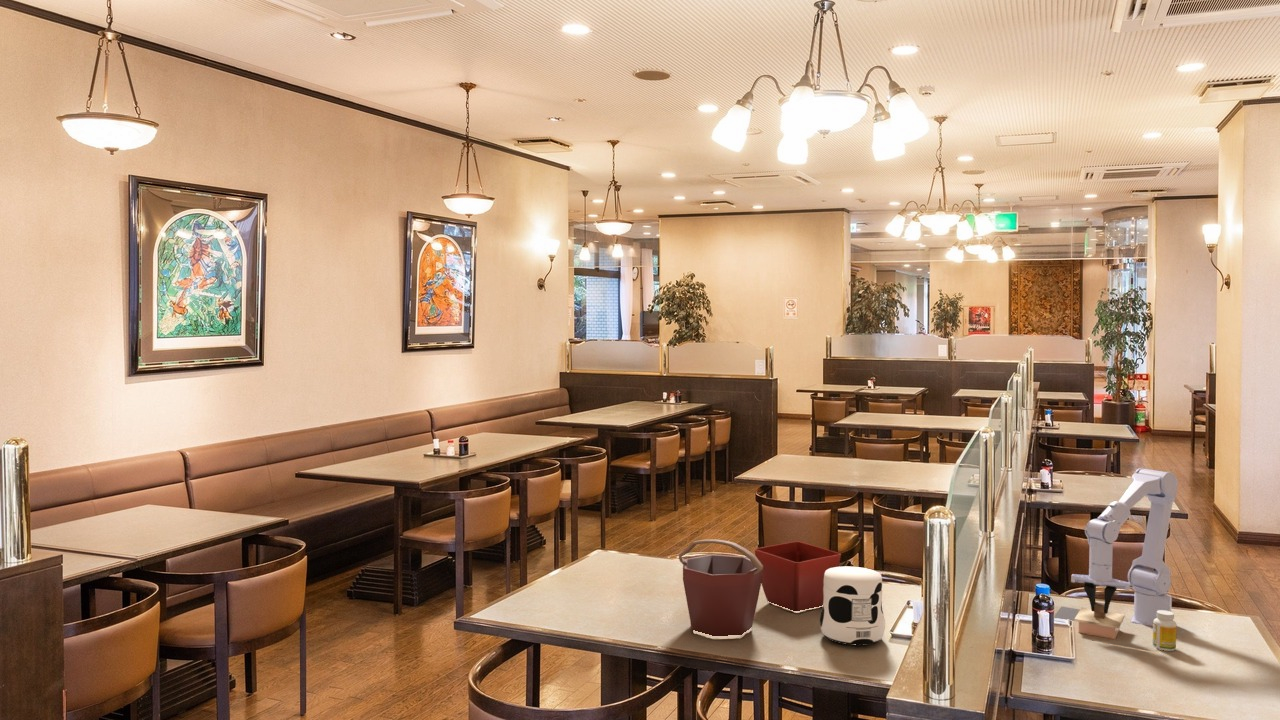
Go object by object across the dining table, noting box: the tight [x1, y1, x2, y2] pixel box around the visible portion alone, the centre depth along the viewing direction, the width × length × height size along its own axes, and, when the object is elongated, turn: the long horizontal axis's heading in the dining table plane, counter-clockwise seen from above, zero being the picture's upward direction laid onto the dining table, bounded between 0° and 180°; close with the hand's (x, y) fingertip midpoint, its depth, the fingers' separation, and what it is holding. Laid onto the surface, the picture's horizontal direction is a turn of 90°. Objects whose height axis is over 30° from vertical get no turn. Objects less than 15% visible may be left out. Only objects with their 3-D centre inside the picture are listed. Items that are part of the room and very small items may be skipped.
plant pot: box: [754, 540, 842, 611], centre depth 274 cm, size 19×19×17 cm
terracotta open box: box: [1078, 622, 1121, 640], centre depth 251 cm, size 9×9×4 cm
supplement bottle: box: [1152, 610, 1178, 652], centre depth 239 cm, size 5×5×10 cm
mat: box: [1054, 605, 1081, 622], centre depth 264 cm, size 14×12×1 cm
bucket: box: [677, 538, 763, 636], centre depth 253 cm, size 24×22×25 cm
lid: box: [1074, 602, 1126, 629], centre depth 251 cm, size 11×11×4 cm
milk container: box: [819, 565, 886, 646], centre depth 245 cm, size 17×17×18 cm
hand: (1099, 611), depth 251 cm, fingers closed on lid, 2 cm apart
